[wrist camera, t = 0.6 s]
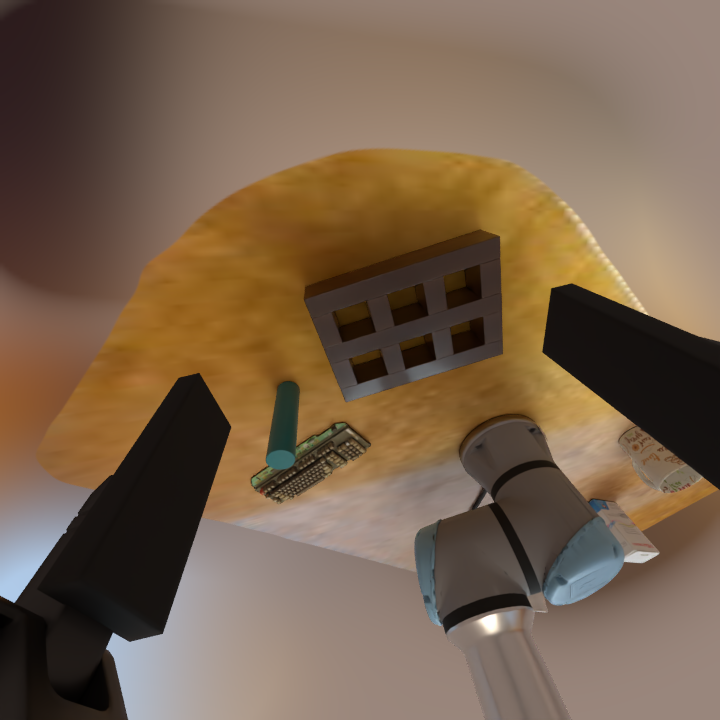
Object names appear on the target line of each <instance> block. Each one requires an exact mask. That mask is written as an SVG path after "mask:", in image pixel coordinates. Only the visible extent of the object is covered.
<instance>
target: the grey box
mask: <svg viewBox="0 0 720 720" xmlns="http://www.w3.org/2000/svg"><path fill="white" fill-rule="evenodd" d="M527 598H528V600H529V602H530V604H531V606H532V608H533V610H534V611H535V612H548V610H547V607H546V603H545V599H544V595H543V592H540V593H536V594H533V595H530V596H527Z"/></svg>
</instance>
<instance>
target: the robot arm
mask: <svg viewBox="0 0 720 720" xmlns="http://www.w3.org/2000/svg"><path fill="white" fill-rule="evenodd" d="M542 352H543V353H544V354H545V355H547V356H548V357H549V358H551V359H552V360H553V361H554V362H556V363H557V364H558V365H560V366H561V367H562V368H563V369H565V370H566V371H567V372H569V373H570V374H571V375H572V376H574V377H575V378H576V379H578V380H579V381H580V382H581V383H583V384H584V385H585V386H587V387H588V388H589V389H590V390H592V391H593V392H594V393H596V394H597V395H598V396H599V397H601V398H602V399H603V400H605V401H606V402H607V403H609V404H610V405H611V406H612V407H614V408H615V409H616V410H618V411H619V412H620V413H621V414H623V415H624V416H625V417H627V418H628V419H629V420H630V421H632V422H633V423H634V424H636V425H637V426H638V427H639V428H641V429H642V430H643V431H645V432H646V433H647V434H648V435H650V436H651V437H652V438H654V439H655V440H656V441H657V442H659V443H660V444H661V445H663V446H664V447H665V448H666V449H668V450H669V451H670V452H672V453H673V454H674V455H675V456H677V457H678V458H679V459H681V460H682V461H683V462H684V463H686V464H687V465H688V466H690V467H691V468H692V469H693V470H695V471H696V472H697V473H699V474H700V475H701V476H703V477H704V478H705V479H706V480H708V481H709V482H710V483H712V484H713V485H714V486H715V487H717V488H718V489H719V490H720V342H718V341H714V340H710V339H706V338H702V337H698V336H696V335H693V334H691V333H688V332H686V331H684V330H681V329H679V328H677V327H674V326H672V325H670V324H667V323H665V322H662V321H660V320H657V319H655V318H653V317H651V316H648V315H646V314H643V313H641V312H639V311H636V310H634V309H631V308H629V307H627V306H624V305H622V304H620V303H617V302H615V301H612V300H610V299H608V298H605V297H603V296H601V295H598V294H596V293H593V292H591V291H589V290H586V289H584V288H582V287H579V286H577V285H574V284H568V285H563V286H559V287H555V288H551V295H550V302H549V309H548V316H547V323H546V330H545V337H544V344H543V351H542ZM230 430H231V426H230V424H229V422H228V421H227V419H226V417H225V415H224V414H223V412H222V410H221V409H220V407H219V405H218V404H217V402H216V400H215V399H214V397H213V395H212V394H211V392H210V390H209V388H208V387H207V385H206V383H205V382H204V380H203V378H202V377H201V375H200V373H197V374H193V375H189V376H185V377H180V378H178V380H177V381H176V383H175V384H174V386H173V387H172V389H171V390H170V392H169V393H168V395H167V396H166V398H165V399H164V401H163V402H162V403H161V405H160V406H159V408H158V409H157V411H156V412H155V414H154V415H153V417H152V418H151V420H150V421H149V423H148V424H147V426H146V427H145V429H144V430H143V432H142V433H141V435H140V436H139V438H138V439H137V441H136V442H135V444H134V445H133V447H132V448H131V450H130V451H129V453H128V454H127V456H126V457H125V459H124V460H123V461H122V463H121V464H120V466H119V467H118V469H117V470H116V472H115V473H114V475H111V476H109V477H108V478H107V479H106V480H105V481H104V482H103V483H102V484H101V485H100V486H99V487H98V488H97V489H96V490H95V491H94V492H93V493H92V494H91V495H90V497H89V498H88V499H87V501H86V502H85V504H84V505H83V506H82V508H81V509H80V511H79V512H78V516H77V517H75V518H74V519H73V521H72V522H71V524H70V525H69V526H68V528H67V532H66V533H65V534H63V535H62V536H61V538H60V539H59V541H58V542H57V543H56V545H55V547H54V548H53V549H52V551H51V552H50V553H49V555H48V556H47V558H46V559H45V560H44V562H43V563H42V565H41V566H40V568H39V569H38V571H37V572H36V573H35V575H34V576H33V578H32V579H31V580H30V582H29V583H28V585H27V586H26V588H25V589H24V590H23V592H22V593H21V595H20V596H19V598H18V599H17V600H16V602H15V603H13V602H11V601H9V600H7V599H5V598H3V597H1V596H0V720H128V718H127V714H126V709H125V705H124V700H123V696H122V692H121V687H120V683H119V679H118V675H117V670H116V666H115V661H114V658H113V656H112V655H111V653H110V652H109V651H108V650H106V647H107V645H108V643H109V640H110V638H111V636H112V633H115V634H117V635H119V636H120V637H122V638H124V639H126V640H127V641H129V642H131V641H135V640H138V639H143V638H147V637H151V636H155V635H159V634H163V631H164V628H165V625H166V622H167V619H168V616H169V613H170V610H171V607H172V604H173V601H174V598H175V595H176V592H177V589H178V586H179V583H180V580H181V577H182V574H183V571H184V568H185V565H186V562H187V559H188V556H189V553H190V550H191V547H192V544H193V541H194V538H195V535H196V532H197V529H198V525H199V522H200V520H201V517H202V514H203V511H204V508H205V505H206V502H207V499H208V496H209V493H210V490H211V487H212V484H213V481H214V478H215V475H216V472H217V469H218V466H219V463H220V460H221V457H222V454H223V451H224V448H225V445H226V442H227V439H228V436H229V433H230ZM545 438H546V435H545V434H544V432H543V431H542V429H541V428H540V426H539V427H538V426H537V424H536V423H535V422H534V421H533V420H531V419H530V418H528V417H526V416H522V415H504V416H500V417H496V418H493V419H491V420H489V421H486V422H485V423H483V424H481V425H480V426H478V427H477V428H475V429H474V430H473V431H472V432H471V433H470V434H469V435H468V436H467V437H466V438H465V440H464V441H463V443H462V445H461V448H460V454H459V455H460V460H461V462H462V464H463V466H464V468H465V470H466V472H467V473H468V474H469V475H470V476H471V477H473V478H474V479H475V480H476V481H477V482H478V483H479V484H480V485H481V486H482V487H483V488H484V490H483V492H482V493H481V495H480V497H479V498H478V500H477V502H476V503H475V505H474V507H473V508H472V510H471V511H468V512H465V513H462V514H459V515H456V516H453V517H450V518H446V519H443V520H441V519H440V520H438V521H437V522H436V523H434V524H431V525H429V526H426V527H424V528H422V529H420V530H419V531H418V533H417V535H416V537H415V561H416V568H417V574H418V579H419V584H420V588H421V592H422V594H423V599H424V603H425V607H426V611H427V613H428V616H429V618H430V620H431V621H432V622H433V623H434V624H437V625H439V626H441V625H442V624H443V627H444V630H445V633H446V637H447V639H448V640H449V641H450V642H451V643H452V644H454V645H455V646H456V647H457V648H459V649H460V650H461V651H462V652H463V654H464V655H465V658H466V661H467V664H468V667H469V670H470V673H471V677H472V679H473V683H474V686H475V689H476V692H477V695H478V699H479V702H480V705H481V708H482V711H483V714H484V718H485V720H571V717H570V715H569V713H568V711H567V709H566V707H565V705H564V702H563V700H562V698H561V696H560V694H559V692H558V690H557V688H556V685H555V683H554V681H553V679H552V677H551V675H550V673H549V670H548V668H547V666H546V664H545V662H544V660H543V658H542V655H541V653H540V651H539V649H538V647H537V645H536V643H535V641H534V638H533V636H532V632H531V630H532V626H533V621H534V616H535V612H534V610H533V608H532V606H531V604H530V602H529V600H528V598H527V596H530V595H533V594H536V593H540V592H543V595H544V597H545V598H546V599H548V600H549V601H550V603H552V604H554V605H563V604H570V603H573V602H576V601H579V600H581V599H583V598H585V597H587V596H589V595H591V594H592V593H594V592H596V591H597V590H599V589H600V588H602V587H603V586H604V585H606V584H607V583H608V582H609V581H610V580H612V579H613V578H614V577H615V575H616V574H617V573H618V572H619V571H620V569H621V568H622V566H623V563H624V559H625V555H624V550H623V548H622V546H621V544H620V543H619V541H618V540H617V539H616V537H615V536H614V535H613V533H612V532H611V531H610V529H609V528H608V527H607V526H606V523H605V521H604V519H603V518H602V517H600V516H599V515H598V514H597V513H596V511H595V510H594V509H593V508H592V507H591V506H590V504H589V503H588V502H587V501H586V500H585V498H584V497H583V496H582V495H581V494H580V492H579V491H578V490H577V489H576V488H575V487H574V485H573V484H572V483H571V482H570V481H569V479H568V478H567V477H566V476H565V475H564V473H563V472H562V471H561V470H560V469H559V468H558V466H557V465H556V464H555V463H554V461H553V458H552V455H551V453H550V450H549V448H548V445H547V442H546V440H547V438H546V440H545ZM487 492H488V493H489V494H490V495H491V497H492V499H493V501H494V503H491V504H488V505H485V506H482V507H480V508H477V507H478V506H479V504H480V503H481V501H482V499H483V498H484V496H485V494H486V493H487Z"/></svg>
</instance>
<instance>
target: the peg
mask: <svg viewBox="0 0 720 720" xmlns="http://www.w3.org/2000/svg"><path fill="white" fill-rule="evenodd" d="M299 393H300V389H299V387H298V385H297V384H296V383H294V382H290V381H286V382H283V383H281V384H280V385H279V386H278V389H277V395H276V401H275V407H274V413H273V419H272V425H271V431H270V437H269V443H268V449H267V455H266V463H267V464H268V465H269V466H270V467H271V468H274V469H279V470H282V469H287V468H289V467H291V466H292V465H293V464H294V462H295V456H296V440H297V424H298V409H299Z"/></svg>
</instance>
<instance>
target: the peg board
mask: <svg viewBox="0 0 720 720" xmlns="http://www.w3.org/2000/svg"><path fill="white" fill-rule="evenodd" d="M464 269H465V278H466V287H464V288H461V289H458V290H455V291H452V292H449V293H445V285H444V278H443V276H445V275H448V274H451V273H454V272H458V271H461V270H464ZM414 285H415V290H416V295H417V300H418V302H417V303H414V304H411V305H408V306H405V307H402V308H398V309H395V310H392V311H391V308H390V304H389V300H388V296H387V294H389V293H392V292H395V291H398V290H401V289H405V288H408V287H411V286H414ZM304 301H305V303H306V306H307V308H308V311H309V313H310V316H311V318H312V320H313V323H314V325H315V328H316V330H317V333H318V335H319V338H320V340H321V342H322V345H323V347H324V350H325V352H326V355H327V357H328V360H329V362H330V365H331V367H332V369H333V372H334V374H335V377H336V379H337V382H338V384H339V387H340V389H341V391H342V394H343V396H344V399H345V401H346V402H349V401H352V400H355V399H358V398H362V397H365V396H368V395H371V394H375V393H378V392H381V391H384V390H388V389H391V388H394V387H397V386H400V385H404V384H407V383H410V382H413V381H417V380H420V379H423V378H426V377H430V376H433V375H436V374H439V373H443V372H446V371H449V370H452V369H456V368H459V367H462V366H465V365H469V364H472V363H475V362H478V361H482V360H485V359H488V358H491V357H495V356H498V355H501V354H503V336H502V295H501V264H500V236H498V235H495V234H492V233H489V232H486V231H483V230H478V231H475V232H472V233H469V234H465V235H462V236H459V237H456V238H453V239H450V240H447V241H444V242H441V243H438V244H435V245H432V246H429V247H426V248H422V249H419V250H416V251H413V252H410V253H407V254H404V255H401V256H398V257H395V258H392V259H389V260H386V261H382V262H379V263H376V264H373V265H370V266H367V267H364V268H361V269H358V270H355V271H352V272H349V273H346V274H343V275H339V276H336V277H333V278H330V279H327V280H324V281H321V282H318V283H315V284H312V285H309V286H306V287H305V294H304ZM364 301H365V302H366V305H367V308H368V312H369V315H370V318H367V319H364V320H361V321H358V322H354V323H351V324H348V325H345V326H342V327H340V326H339V323H338V320H337V317H336V314H335V312H334V311H336V310H339V309H342V308H345V307H348V306H352V305H355V304H358V303H361V302H364ZM467 321H469V322H470V330H468V331H465V332H462V333H459V334H455V335H452V336H451V330H450V327H451V326H454V325H457V324H460V323H464V322H467ZM422 335H424V337H425V343H426V344H423V345H420V346H417V347H414V348H411V349H407V350H404V351H401V349H400V345H399V343H400V342H403V341H406V340H409V339H413V338H416V337H419V336H422ZM378 349H379V350H380V353H381V357H382V358H379V359H376V360H372V361H369V362H366V363H363V364H360V365H356V366H354V365H353V362H352V359H351V358H352V357H355V356H358V355H362V354H365V353H368V352H371V351H374V350H378Z"/></svg>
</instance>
